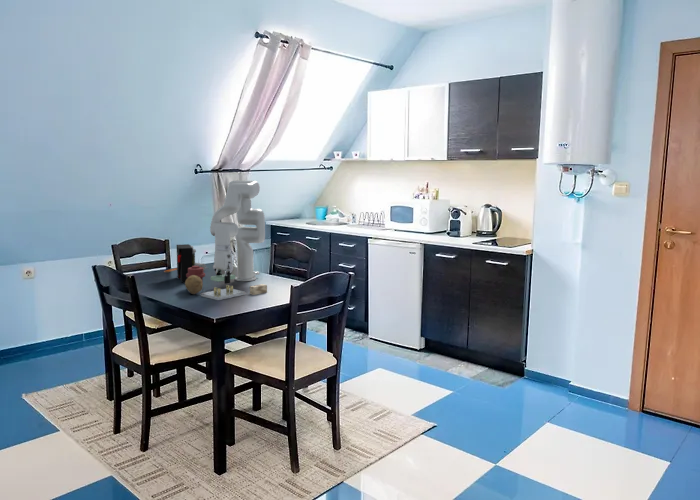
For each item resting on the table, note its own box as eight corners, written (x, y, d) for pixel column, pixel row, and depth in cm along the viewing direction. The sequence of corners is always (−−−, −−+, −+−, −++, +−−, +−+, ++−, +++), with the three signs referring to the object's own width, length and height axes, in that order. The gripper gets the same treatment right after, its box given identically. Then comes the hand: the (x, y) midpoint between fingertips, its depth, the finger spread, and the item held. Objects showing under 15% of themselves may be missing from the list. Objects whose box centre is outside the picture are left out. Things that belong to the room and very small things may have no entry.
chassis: (228, 290, 295) (228, 282, 294) (245, 294, 286) (245, 286, 285) (200, 296, 281) (200, 287, 280) (217, 300, 272) (217, 291, 272)
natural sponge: (187, 292, 290) (186, 273, 289) (204, 292, 291) (204, 273, 290) (183, 295, 281) (183, 276, 280) (201, 295, 282) (201, 276, 281)
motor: (188, 267, 366) (187, 260, 365) (211, 270, 354) (210, 263, 352) (160, 278, 348) (158, 270, 346) (183, 282, 335) (182, 274, 334)
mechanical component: (193, 286, 306) (208, 287, 303) (183, 289, 296) (199, 290, 294) (192, 264, 304) (208, 265, 302) (182, 267, 295) (198, 268, 292)
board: (227, 277, 288) (227, 273, 288) (235, 278, 285) (235, 275, 284) (210, 280, 280) (210, 276, 280) (218, 281, 276) (218, 277, 276)
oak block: (262, 291, 295) (262, 283, 294) (267, 292, 293) (267, 284, 292) (249, 293, 288) (249, 286, 287) (254, 294, 286) (254, 287, 285)
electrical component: (196, 282, 318) (196, 247, 315) (178, 283, 314) (177, 248, 311) (193, 276, 334) (192, 244, 331) (176, 277, 330) (175, 244, 327)
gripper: (239, 248, 278) (239, 283, 280) (218, 245, 288) (218, 279, 291) (227, 250, 272) (228, 285, 274) (206, 247, 283) (206, 281, 285)
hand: (223, 282), depth 282 cm, fingers closed on board, 6 cm apart
